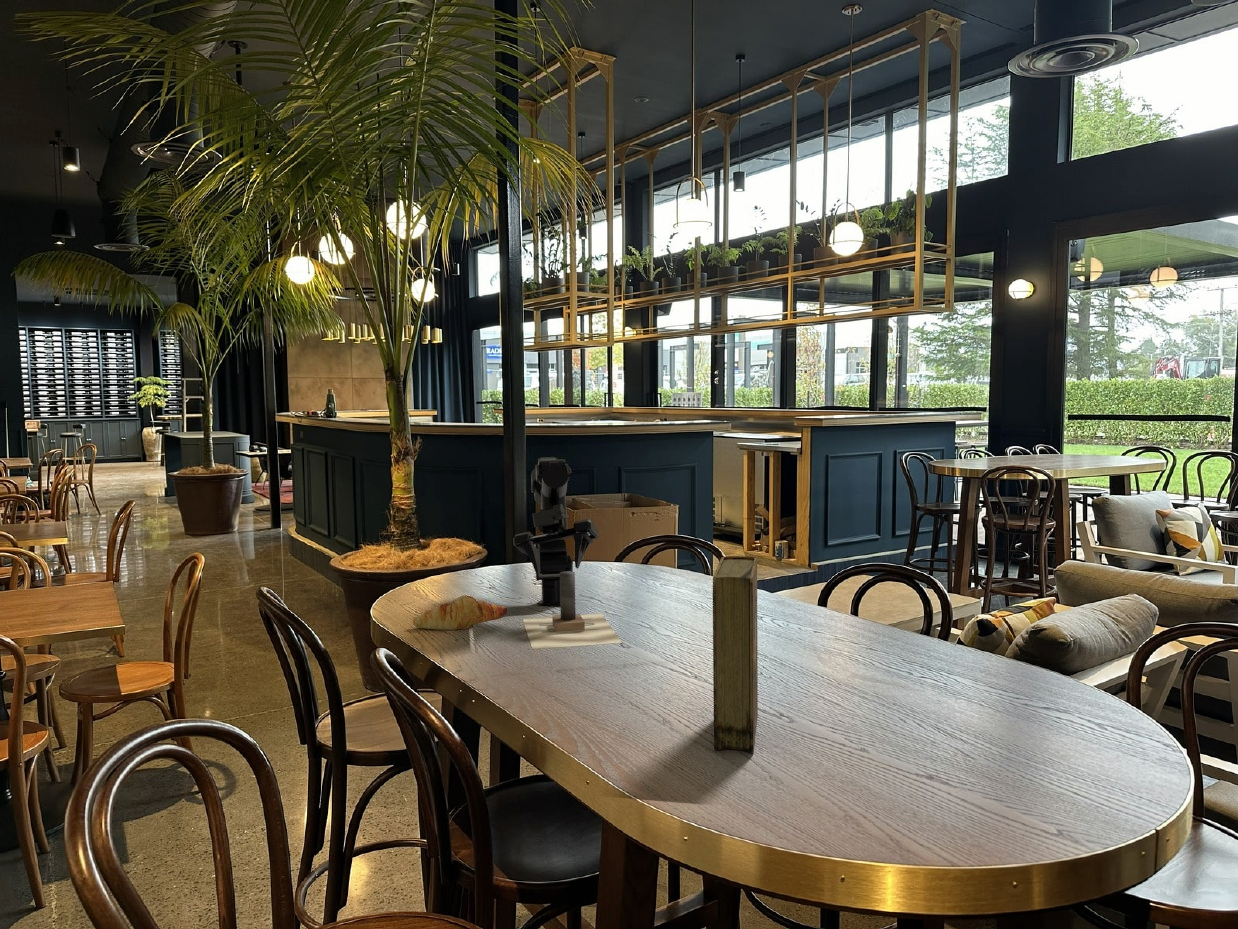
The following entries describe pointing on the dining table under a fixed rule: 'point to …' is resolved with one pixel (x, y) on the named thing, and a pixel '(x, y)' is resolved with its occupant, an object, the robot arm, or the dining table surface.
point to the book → (735, 653)
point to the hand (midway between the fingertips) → (557, 571)
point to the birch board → (569, 633)
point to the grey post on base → (568, 606)
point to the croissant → (459, 614)
